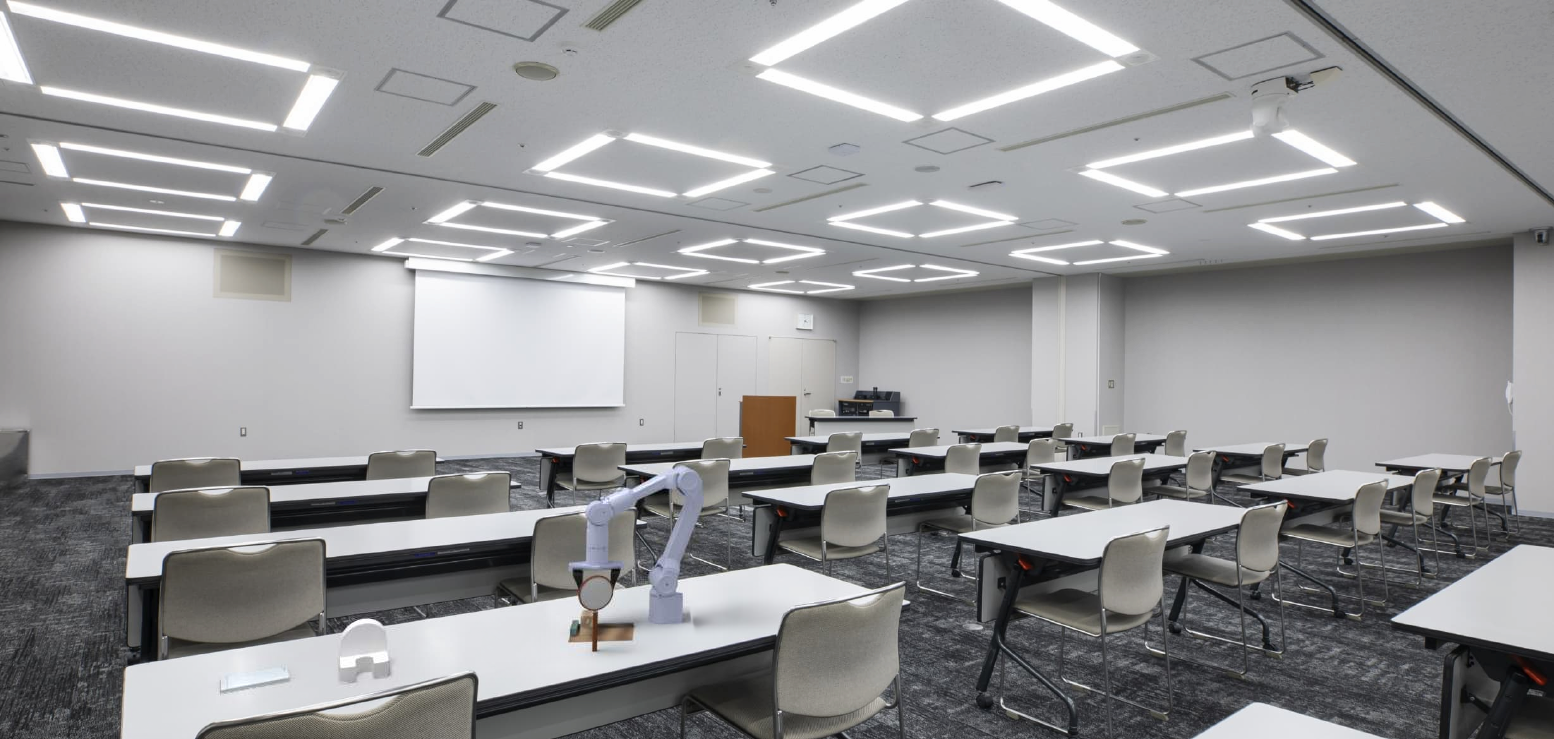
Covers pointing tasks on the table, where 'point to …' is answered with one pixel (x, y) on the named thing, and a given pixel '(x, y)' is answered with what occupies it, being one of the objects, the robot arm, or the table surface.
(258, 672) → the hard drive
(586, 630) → the beige block with rod
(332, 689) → the table surface
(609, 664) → the table surface
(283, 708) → the table surface
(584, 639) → the board
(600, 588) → the magnifying glass
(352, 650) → the white slotted bracket
